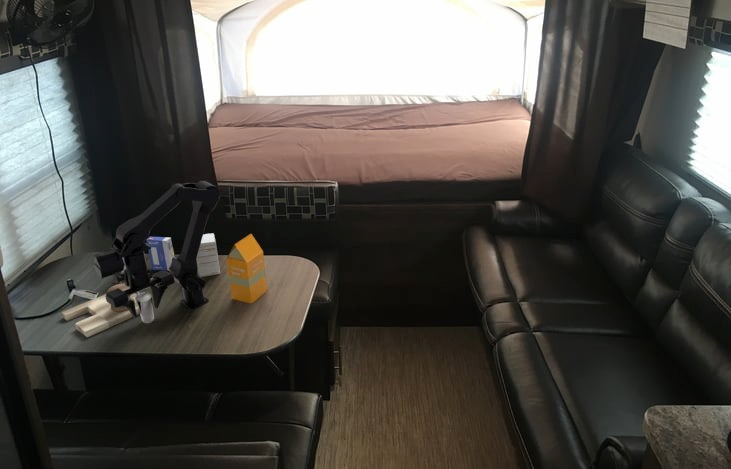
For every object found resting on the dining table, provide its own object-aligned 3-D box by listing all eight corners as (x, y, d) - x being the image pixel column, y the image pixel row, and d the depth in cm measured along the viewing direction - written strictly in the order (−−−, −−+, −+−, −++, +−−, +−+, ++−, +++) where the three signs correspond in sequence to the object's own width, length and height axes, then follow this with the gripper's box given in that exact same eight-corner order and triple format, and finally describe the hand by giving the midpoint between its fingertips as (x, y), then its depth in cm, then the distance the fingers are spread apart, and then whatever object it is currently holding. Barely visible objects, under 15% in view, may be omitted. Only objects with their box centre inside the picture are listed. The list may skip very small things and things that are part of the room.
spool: (139, 304, 174) (136, 288, 171) (118, 314, 169) (114, 297, 166) (128, 297, 178) (125, 281, 175) (107, 306, 173) (103, 290, 171)
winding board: (151, 308, 175) (149, 303, 174) (87, 337, 162) (85, 331, 161) (125, 291, 185) (124, 286, 184) (63, 317, 171) (61, 312, 170)
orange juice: (267, 290, 184) (261, 235, 176) (251, 303, 177) (245, 246, 168) (247, 286, 187) (241, 231, 179) (231, 298, 180) (223, 242, 171)
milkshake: (149, 313, 173) (143, 285, 168) (159, 319, 169) (153, 290, 165) (135, 320, 169) (129, 291, 165) (145, 326, 166) (139, 297, 162)
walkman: (152, 269, 199) (145, 238, 194) (155, 266, 201) (149, 235, 196) (173, 271, 197) (167, 240, 192) (176, 267, 200) (171, 236, 195)
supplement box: (197, 268, 199) (192, 235, 194) (219, 264, 201) (214, 232, 196) (198, 277, 193) (193, 244, 188) (220, 274, 195) (215, 241, 189)
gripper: (151, 247, 173) (160, 291, 180) (91, 270, 160) (102, 316, 167) (171, 258, 166) (179, 303, 173) (109, 282, 154) (121, 330, 160)
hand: (146, 312), depth 168 cm, fingers open, 7 cm apart
